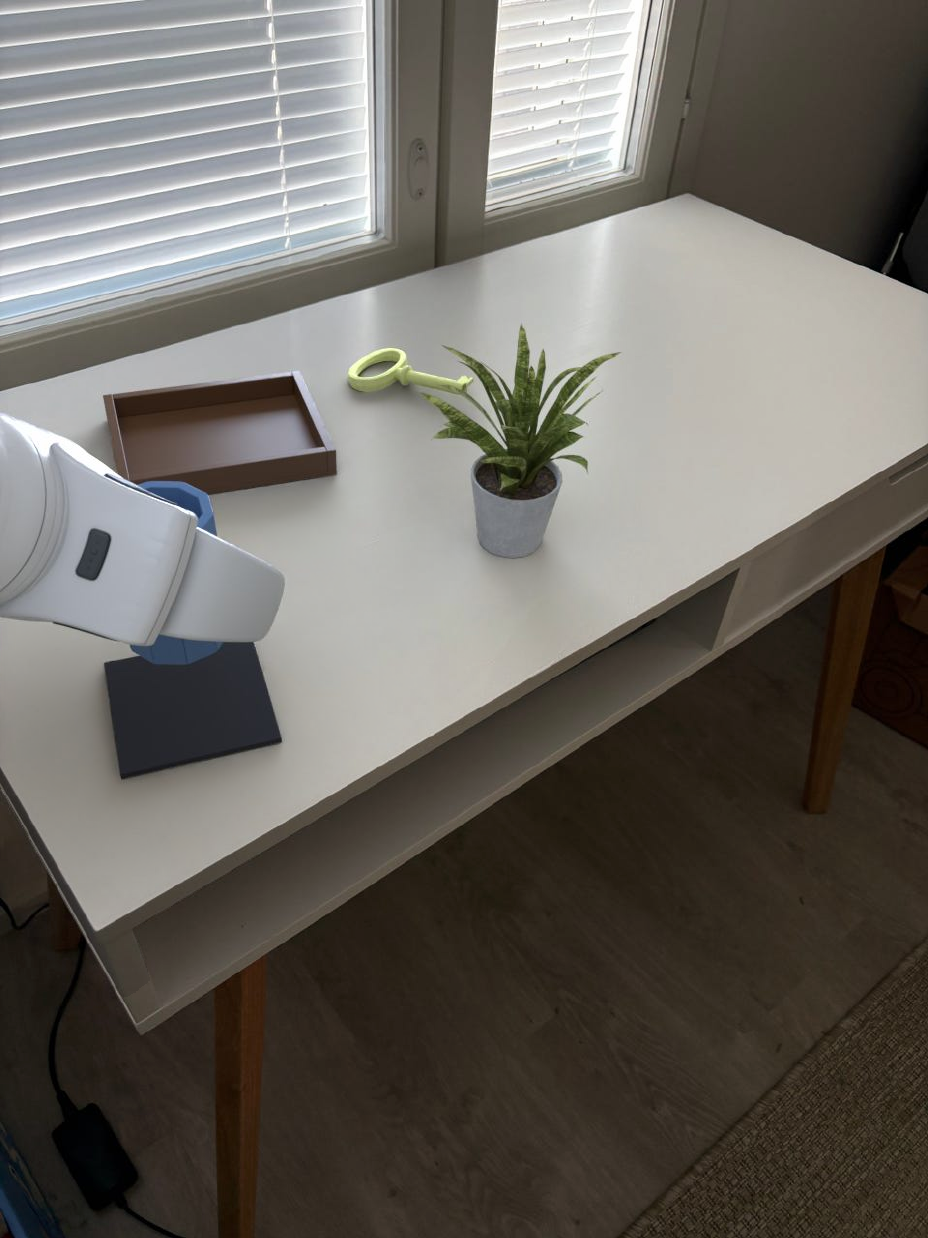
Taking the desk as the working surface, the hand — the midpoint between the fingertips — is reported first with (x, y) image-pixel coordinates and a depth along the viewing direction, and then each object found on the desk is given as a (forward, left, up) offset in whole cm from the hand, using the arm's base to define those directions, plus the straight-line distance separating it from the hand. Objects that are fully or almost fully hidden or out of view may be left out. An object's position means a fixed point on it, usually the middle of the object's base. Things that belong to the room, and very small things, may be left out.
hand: (174, 563), depth 59 cm
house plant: (+27, +11, -12) cm, 32 cm away
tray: (+6, +29, -12) cm, 32 cm away
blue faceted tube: (0, 0, -5) cm, 5 cm away
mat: (-1, 0, -12) cm, 12 cm away
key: (+25, +35, -12) cm, 45 cm away
